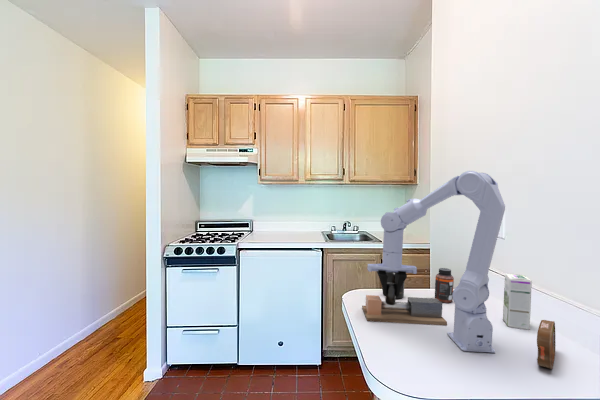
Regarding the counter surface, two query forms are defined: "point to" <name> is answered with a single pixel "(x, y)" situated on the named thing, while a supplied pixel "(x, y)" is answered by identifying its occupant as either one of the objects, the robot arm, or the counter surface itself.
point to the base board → (402, 317)
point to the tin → (546, 344)
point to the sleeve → (425, 307)
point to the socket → (373, 304)
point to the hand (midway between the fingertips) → (390, 295)
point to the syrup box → (517, 301)
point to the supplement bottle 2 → (444, 285)
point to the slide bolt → (390, 300)
